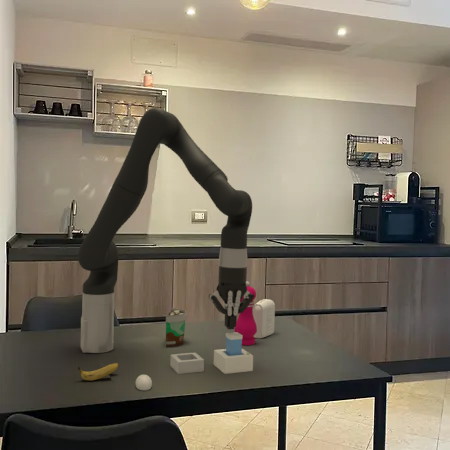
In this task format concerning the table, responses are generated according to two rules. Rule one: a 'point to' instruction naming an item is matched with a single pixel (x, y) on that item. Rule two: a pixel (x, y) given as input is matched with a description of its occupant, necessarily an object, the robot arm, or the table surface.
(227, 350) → the plug
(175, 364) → the box
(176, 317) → the food container
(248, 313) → the pepper mill
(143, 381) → the egg
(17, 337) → the table surface
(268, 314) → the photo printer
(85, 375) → the banana
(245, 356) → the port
